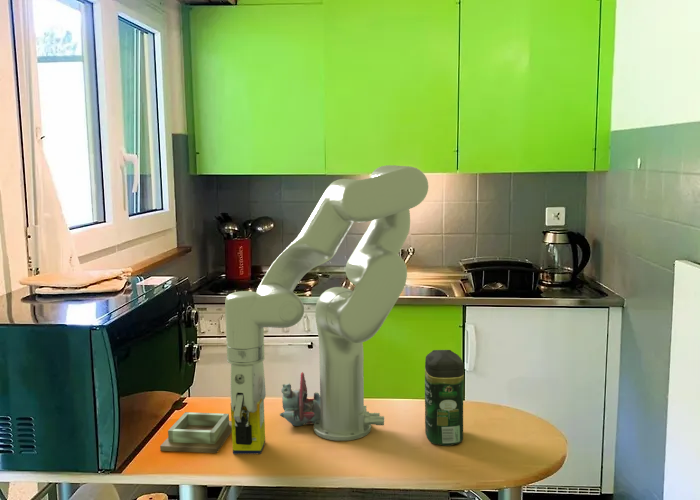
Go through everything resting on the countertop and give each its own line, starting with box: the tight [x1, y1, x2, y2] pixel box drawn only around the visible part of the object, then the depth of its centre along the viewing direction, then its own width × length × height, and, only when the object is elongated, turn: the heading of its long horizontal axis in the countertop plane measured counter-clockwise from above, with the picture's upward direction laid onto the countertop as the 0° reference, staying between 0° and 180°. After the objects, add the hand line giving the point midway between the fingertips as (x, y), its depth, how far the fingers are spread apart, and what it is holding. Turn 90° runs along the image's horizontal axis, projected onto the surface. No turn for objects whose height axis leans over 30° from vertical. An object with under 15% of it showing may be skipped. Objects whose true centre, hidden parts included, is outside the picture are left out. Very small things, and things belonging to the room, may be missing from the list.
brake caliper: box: [279, 371, 321, 427], centre depth 155 cm, size 11×11×12 cm
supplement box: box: [230, 399, 266, 455], centre depth 141 cm, size 6×6×11 cm
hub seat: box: [159, 411, 232, 454], centre depth 147 cm, size 12×14×4 cm
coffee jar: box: [424, 349, 465, 447], centre depth 144 cm, size 10×8×19 cm
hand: (248, 435), depth 141 cm, fingers closed on supplement box, 6 cm apart
